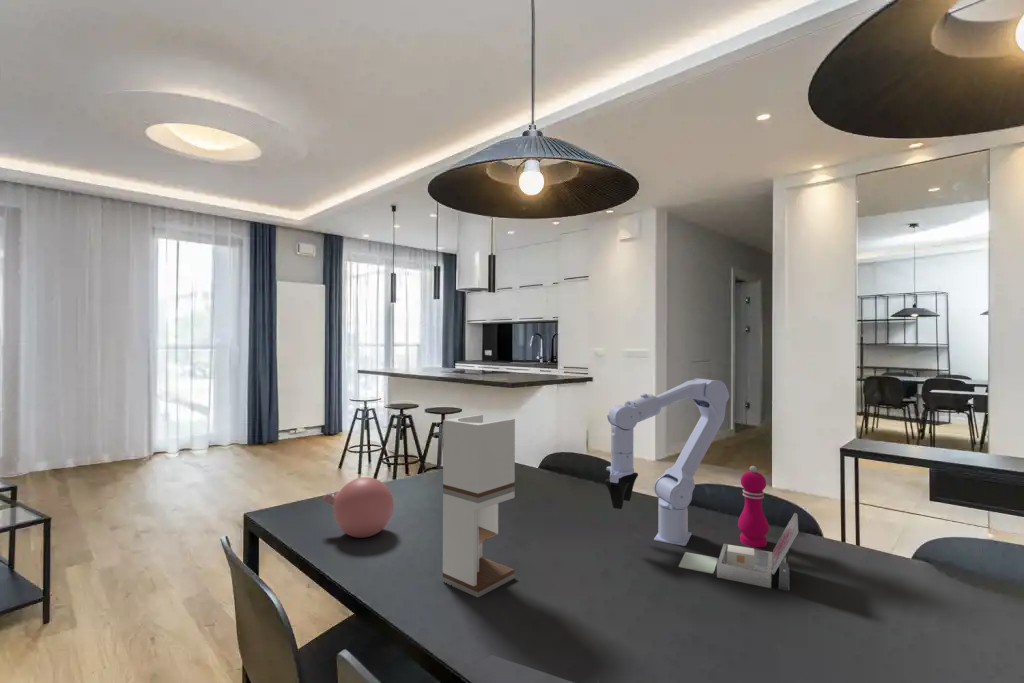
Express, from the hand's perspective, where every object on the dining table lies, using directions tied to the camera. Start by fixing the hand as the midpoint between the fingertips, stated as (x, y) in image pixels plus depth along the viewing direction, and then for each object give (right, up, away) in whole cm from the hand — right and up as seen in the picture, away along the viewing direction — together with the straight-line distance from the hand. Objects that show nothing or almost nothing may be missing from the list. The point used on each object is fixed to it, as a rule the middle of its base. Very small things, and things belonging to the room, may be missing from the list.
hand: (621, 504), depth 133 cm
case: (+26, -10, -18) cm, 33 cm away
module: (+23, -10, -17) cm, 30 cm away
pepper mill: (+34, -10, 0) cm, 36 cm away
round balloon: (-70, -10, +5) cm, 71 cm away
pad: (+15, -10, -13) cm, 22 cm away
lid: (+31, -2, -21) cm, 37 cm away
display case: (-36, -10, -22) cm, 43 cm away
